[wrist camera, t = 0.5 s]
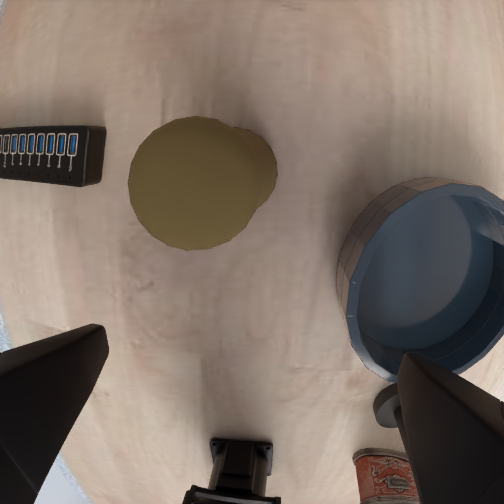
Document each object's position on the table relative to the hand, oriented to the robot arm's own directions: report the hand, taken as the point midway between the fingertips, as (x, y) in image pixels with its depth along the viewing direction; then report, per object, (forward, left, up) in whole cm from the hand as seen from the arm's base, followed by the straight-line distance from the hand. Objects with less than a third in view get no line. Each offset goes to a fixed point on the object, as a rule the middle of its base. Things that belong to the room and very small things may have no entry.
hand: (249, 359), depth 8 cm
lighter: (-26, -13, -14) cm, 32 cm away
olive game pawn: (+4, +3, -14) cm, 15 cm away
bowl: (-3, -12, -14) cm, 19 cm away
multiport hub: (+7, +20, -14) cm, 25 cm away
